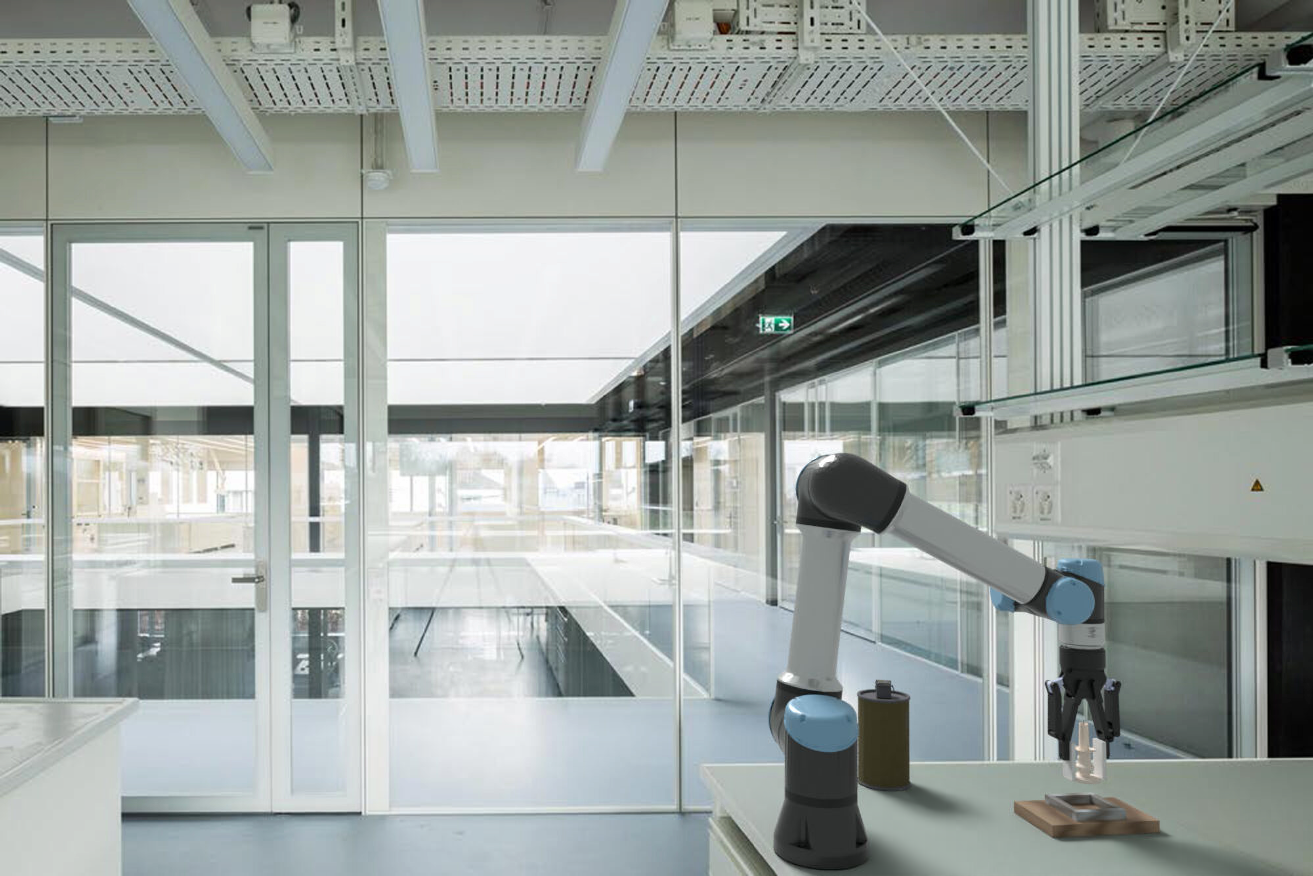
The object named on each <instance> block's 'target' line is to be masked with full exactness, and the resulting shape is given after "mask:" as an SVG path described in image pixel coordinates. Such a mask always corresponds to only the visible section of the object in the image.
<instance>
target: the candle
mask: <svg viewBox="0 0 1313 876" xmlns="http://www.w3.org/2000/svg"><path fill="white" fill-rule="evenodd" d="M1075 749H1076V752H1077V756H1076V757H1077V758H1076V759H1077V762H1076V770H1077V771H1076V781H1074V782H1076V783H1079V784H1084V785H1099V784H1100V783H1102V779H1101V778H1100V777H1099V776H1097V775H1094V774H1093V773H1092V772H1091V771H1093V770H1094V769H1095V767H1094V766H1093V764H1091V763H1092V757H1091V756H1092V754H1093V752H1095V751H1096V749H1094V748H1093V746H1092V747H1090V731H1089V723H1087V722H1085V720H1084V719H1083V721H1080V722H1079V723H1078V745H1075Z"/></svg>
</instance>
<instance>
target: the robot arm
mask: <svg viewBox="0 0 1313 876" xmlns="http://www.w3.org/2000/svg"><path fill="white" fill-rule="evenodd" d="M794 490H795V495H796V496H795V497H796V501H797V508H796V518H795V526H796V528H797V529H798V531H799V532H800V533H801V535H802V540H801V548H800V549H801V550H800V556H799V564H798V575H797V583H796V591H795V599H794V607H793V616H792V623H791V631H790V632H791V633H790V642H789V649H788V656H787V657H788V658H787V665H786V666H787V668H785V670H783V671H782V672H781V673H779V674H778V675H777V679H776V686H775V691H774V692H775V693H774V697H773V698H772V700H771V701H770V705H769V708H768V712H767V713H768V717H767V720H768V721H767V722H768V727H769V730H770V734H771V736H772V738H773V740H774V742H775V743H776V744H777V746H778V747H779V749H780V750H781V752H782V753H783V755H784V756H783V757H784V798H783V799H784V800H783V803H782V805H781V808H780V811H779V815H778V818H777V822H776V825H775V827H774V831H773V850H774V852H775V853H776V855H778V857H780V858H782V859H783V860H785V861H787V862H790V863H792V864H794V865H795V864H796V865H798V866H801V867H807V868H813V869H820V870H841V869H842V870H843V869H849V868H854V867H857V866H859V865H862V864H864V863H865V862H866V861H867V860H868V859H869V856H870V842H869V837H868V834H867V831H866V827H865V824H864V820H863V818H862V814H861V811H860V807H859V804H858V803H859V802H858V798H859V797H858V795H859V794H858V788H859V787H858V735H859V727H858V713H857V712H856V710H855V708H854V707H853V706H852V704H850V703H849V702H847V701H845V700H843V698H842V697H843V691H844V687H843V685H842V684H841V683H840V681H839V679H838V678H837V676H836V674H837V668H838V667H837V666H838V655H839V649H840V648H839V647H840V639H841V630H842V624H843V623H842V622H843V612H844V606H845V605H844V604H845V597H846V596H845V595H846V588H847V579H848V571H849V562H850V555H851V546H852V545H851V543H852V542H853V541H854V540H855V539H856V538H858V537H859V536H860V535H861V532H862V527H863V528H864V529H867V530H869V531H871V532H872V533H875V534H877V535H880V536H881V535H885V534H890V535H891V536H893V537H895V538H897V539H899V540H901V541H903V542H904V543H905V544H909V545H910V546H912V547H914V548H916V549H917V550H918V551H919V550H920V551H921V552H923V553H925V554H927V555H929V556H931V557H932V558H934V559H936V560H939V561H940V562H942V563H944V564H946V565H947V566H950V567H951V568H953V569H955V570H957V571H959V572H960V573H963V574H964V575H967V576H968V577H970V578H972V579H974V580H976V581H978V582H979V583H981V584H983V585H985V586H986V587H989V595H990V601H991V603H992V604H993V606H994V608H995V609H996V610H997V611H999V612H1009V613H1013V614H1014V613H1027V614H1029V615H1033V616H1036V617H1039V618H1042V619H1043V618H1044V619H1047V620H1050V621H1053V622H1055V623H1057V624H1058V641H1059V642H1060V643H1061V644H1060V646H1059V648H1058V650H1059V655H1058V656H1059V658H1058V659H1059V665H1060V673H1059V674H1058V678H1055V679H1053V680H1049V679H1047V680H1045V681H1044V687H1045V689H1046V694H1047V735H1049V737H1052V738H1053V739H1056V740H1057V741H1058V757H1059V759H1061V761H1062V777H1064V778H1065V779H1067V780H1069V781H1071V782H1075V781H1076V772H1077V768H1076V763H1077V760H1076V759H1077V758H1076V757H1077V756H1076V755H1077V754H1076V752H1077V751H1076V749H1075V746H1076V743H1075V742H1074V741H1072V738H1073V733H1074V728H1075V724H1076V719H1077V716H1078V715H1077V714H1078V711H1079V706H1080V705H1081V704H1082V700H1085V701H1086V702H1087V705H1088V707H1089V711H1090V716H1091V721H1092V722H1093V727H1094V732H1095V734H1096V737H1092V748H1094V749H1096V751H1095V752H1092V765H1093V766H1094V767H1095V769H1094V770H1092V772H1093V773H1092V774H1094V775H1097V776H1099V777H1100V778H1101V781H1103V780H1104V781H1105V780H1108V774H1107V771H1108V770H1107V760H1110V757H1111V749H1110V748H1111V747H1110V745H1111V743H1113V742H1114V740H1115V738H1119V737H1121V720H1120V719H1121V716H1120V696H1119V695H1120V692H1121V687H1122V682H1121V681H1119V680H1116V679H1114V678H1108V677H1107V675H1106V673H1105V669H1106V667H1107V655H1106V654H1107V653H1106V651H1107V650H1106V649H1105V648H1104V647H1103V646H1105V645H1106V622H1105V621H1106V620H1105V619H1106V618H1105V615H1106V614H1105V587H1106V584H1105V575H1104V573H1105V572H1104V567H1103V564H1102V562H1101V561H1099V560H1097V559H1093V558H1092V559H1091V558H1083V557H1081V558H1077V557H1076V558H1075V557H1071V558H1069V557H1067V558H1066V557H1065V558H1064V557H1063V558H1059V560H1058V561H1057V565H1056V568H1055V569H1052V568H1050V567H1049V566H1046V565H1045V564H1043V563H1041V562H1039V561H1037V560H1036V559H1033V558H1032V557H1030V556H1028V555H1026V554H1025V553H1023V552H1022V551H1019V550H1017V549H1015V548H1014V547H1012V546H1009V545H1008V544H1006V543H1004V542H1002V541H1000V540H998V539H997V538H995V537H993V536H991V535H989V534H987V533H986V532H984V531H982V530H980V529H978V528H976V527H975V526H972V525H970V524H968V523H967V522H965V521H963V520H961V519H959V518H958V517H955V515H952V514H950V513H948V512H946V511H944V510H943V509H941V508H939V507H937V506H936V505H933V504H932V503H930V502H928V501H926V500H924V499H923V498H920V497H919V496H917V495H915V494H913V493H912V492H910V489H909V485H908V484H907V483H905V482H904V481H902V480H900V479H899V478H897V477H895V476H893V475H891V474H889V473H888V472H886V471H885V470H883V469H881V468H880V467H878V466H877V465H875V464H874V463H872V462H871V461H869V460H867V459H866V458H863V457H861V456H859V455H856V454H854V453H852V452H851V453H849V452H837V453H836V452H835V453H833V454H828V453H827V454H822V455H819V456H817V457H815V458H812V459H811V460H809V461H808V462H807V464H805V465H804V466H803V468H802V469H801V470H800V472H799V473H798V476H797V478H796V482H795V489H794ZM1062 687H1063V688H1064V689H1063V688H1062ZM1103 689H1104V690H1103ZM1063 690H1064V693H1063V694H1062V692H1063ZM1102 690H1103V695H1102V692H1101V691H1102ZM1062 695H1063V697H1062ZM1063 700H1064V701H1063ZM1062 701H1063V702H1062ZM1103 703H1104V705H1103Z"/></svg>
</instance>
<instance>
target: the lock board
mask: <svg viewBox="0 0 1313 876" xmlns="http://www.w3.org/2000/svg"><path fill="white" fill-rule="evenodd" d="M1013 813H1014V814H1016V815H1017V816H1019V817H1021V818H1022V819H1023V820H1025V821H1026V822H1028V823H1030V824H1031V825H1032V826H1034V827H1035V828H1037V829H1039V830H1040V831H1042V832H1043V833H1045V834H1047V835H1048V836H1049V837H1051V838H1069V837H1071V838H1072V837H1091V836H1093V837H1094V836H1110V835H1111V836H1112V835H1131V834H1132V835H1134V834H1136V835H1138V834H1153V833H1154V834H1156V833H1158V834H1159V833H1160V832H1161V831H1160V829H1161V828H1160V819H1157V818H1155V817H1153V816H1152V815H1149V814H1148V813H1146V812H1144V811H1142V810H1140V809H1138V808H1137V807H1134V806H1132V805H1130V804H1128V803H1126V802H1124V801H1123V800H1121V799H1118V798H1117V797H1115V796H1112V797H1109V796H1108V797H1103V796H1100V795H1099V794H1097V793H1094V792H1091V791H1089V792H1068V793H1067V792H1066V793H1045V794H1044V799H1037V800H1036V799H1035V800H1013Z"/></svg>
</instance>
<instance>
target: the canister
mask: <svg viewBox="0 0 1313 876" xmlns="http://www.w3.org/2000/svg"><path fill="white" fill-rule="evenodd" d="M856 696H857V723H858V727H859V735H858V783H859V784H860V785H861V786H863V787H865V788H868V789H871V790H877V791H881V792H882V791H883V792H897V791H904V790H907V789H909V788H910V787H911V785H912V783H911V781H910V780H911V778H910V776H911V775H910V771H911V770H910V768H911V767H910V700H911V695H909V693H905V692H903V691H900V690H895V688H894V685H893V684H892V680H888V679H875V686H874V688H868V689H862V690H861V689H860V690H859V691H857V693H856Z"/></svg>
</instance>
